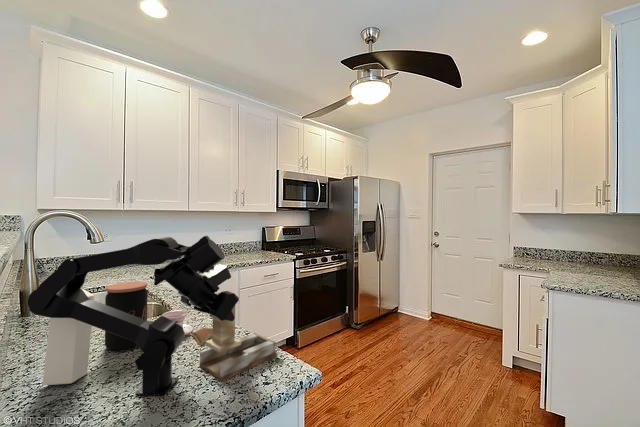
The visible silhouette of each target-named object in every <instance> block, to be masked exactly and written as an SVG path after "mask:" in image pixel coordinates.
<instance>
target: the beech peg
mask: <svg viewBox="0 0 640 427" xmlns="http://www.w3.org/2000/svg"><path fill="white" fill-rule="evenodd" d="M219 293H220V292H219ZM219 293H218V292H216V294H219ZM234 294H235V293H234ZM235 295H236V296H237V294H235ZM232 312H233V314H234V316H235V317H236V305H235V306H234V307H233V309H232ZM212 329H213V332H212V338H210V339H209V340H208V341H206V342H205V343H204V345H205V346H206V347H208V348H211V349H213V350H215V351H217V352H218V353H219V352H222V351H225V350H228V349H231V348H233V347H236V346H239V345H241V340H239V339H240V338H236V334H235V333H236V318H235V319H234V320H233V321H228V320H223V321H220V320H218V319H216V318H213V317H212Z"/></svg>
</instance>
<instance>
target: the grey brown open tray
mask: <svg viewBox="0 0 640 427" xmlns="http://www.w3.org/2000/svg"><path fill="white" fill-rule="evenodd" d="M238 339H239V340H241V345H239V346H236V347H233V348H231V349H228V350H225V351H222V352H219V353H218V352H217V351H215V350H213V349H211V348H210V347H208V348H206V349H204V350H201V351H199V367H200V368H202V369H203V370H205V371H206V372H208V373H209V374H211V376H212V377H215V378H216V379H217V380H219V381H220V382H224V381H227V380H228V379H231V378H233V377H236V376H237V375H239V374H242V373H244V372H246V371H248V370H251V369H252V368H254V367H256V366H258V365H262V364H263V363H266V362H268V361H270V360H272V359H275V358H276V357H278V352H277V351H276V348H277V347H276V344H277V343H276V341H274V340H271V339H269V338H267V337H265V336H262V335H261V334H257V333H256V332H255V333H252V334H248V335H246V336H243V337H240V338H238Z"/></svg>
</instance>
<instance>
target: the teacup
mask: <svg viewBox="0 0 640 427" xmlns="http://www.w3.org/2000/svg"><path fill="white" fill-rule="evenodd" d="M161 316H164V317H166V318H168V319H169V320H172V321H178V322H177V323H176V324H179V325H180V326H182V328H183V330H184V333H185V336H187V335H189V334H190V333H193V331H194V330H193V329H194V327H193V326H192V325H189V324H184V321H185V318H186V317H187V316H188V312H187V311H185V310H180V309H179V310H169V311H166V312H164V313H162V314H161ZM184 327H185V328H184Z"/></svg>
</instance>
